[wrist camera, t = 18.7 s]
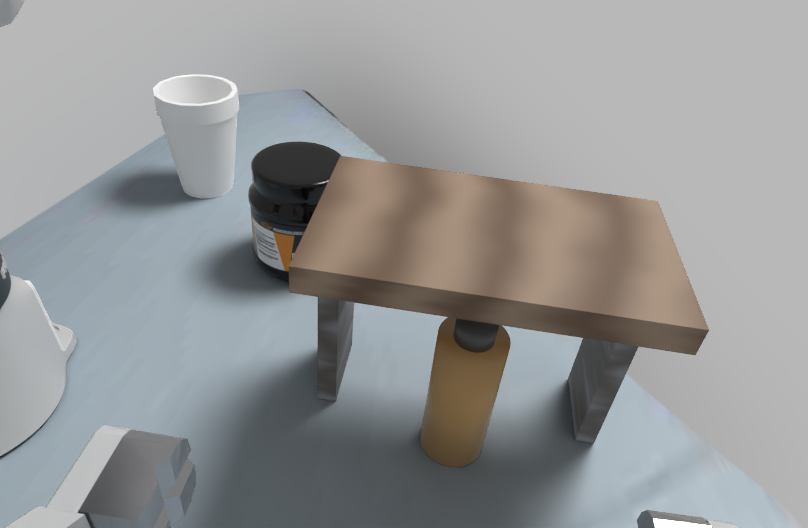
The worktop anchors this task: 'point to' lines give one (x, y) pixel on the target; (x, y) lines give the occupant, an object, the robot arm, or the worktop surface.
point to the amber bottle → (462, 389)
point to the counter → (498, 268)
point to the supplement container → (286, 199)
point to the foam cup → (200, 131)
